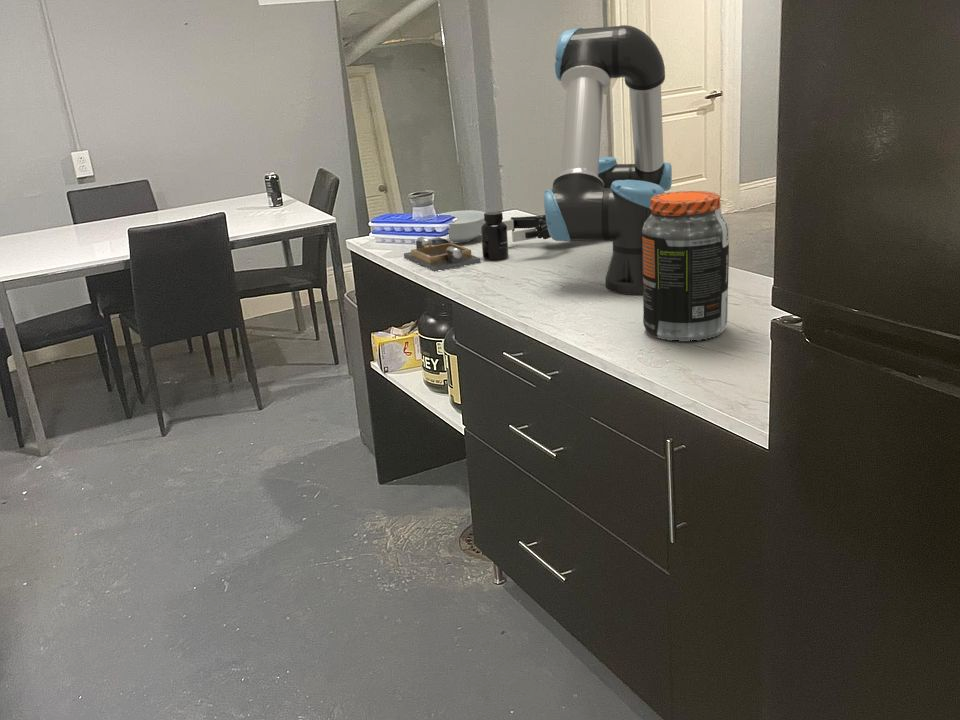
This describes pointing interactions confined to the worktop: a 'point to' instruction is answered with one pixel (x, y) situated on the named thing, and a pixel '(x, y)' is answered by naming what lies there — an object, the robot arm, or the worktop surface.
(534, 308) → the worktop surface
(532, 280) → the worktop surface
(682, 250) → the supplement tub
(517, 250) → the worktop surface
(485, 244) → the supplement bottle
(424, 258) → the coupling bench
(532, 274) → the worktop surface
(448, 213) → the cereal bowl
